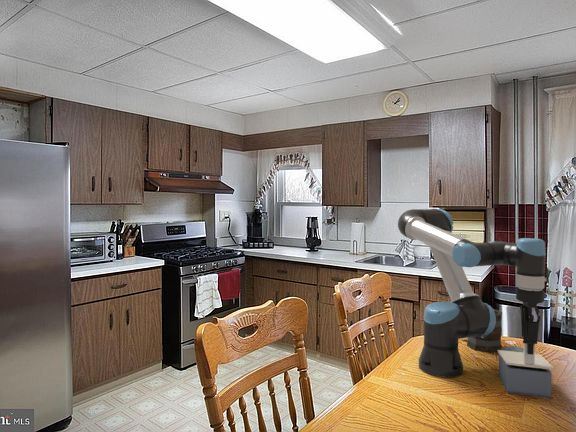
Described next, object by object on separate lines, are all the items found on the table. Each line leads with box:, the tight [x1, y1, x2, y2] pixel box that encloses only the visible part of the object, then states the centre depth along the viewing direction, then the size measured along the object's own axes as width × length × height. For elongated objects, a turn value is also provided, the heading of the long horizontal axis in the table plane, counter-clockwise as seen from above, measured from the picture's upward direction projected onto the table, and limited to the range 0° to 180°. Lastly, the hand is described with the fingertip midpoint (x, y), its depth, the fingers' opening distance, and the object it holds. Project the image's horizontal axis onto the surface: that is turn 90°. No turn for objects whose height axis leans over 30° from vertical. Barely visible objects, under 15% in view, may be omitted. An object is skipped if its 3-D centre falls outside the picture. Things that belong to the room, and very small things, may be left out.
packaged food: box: [501, 345, 524, 352], centre depth 149 cm, size 9×12×5 cm
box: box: [497, 353, 553, 400], centre depth 129 cm, size 12×14×8 cm
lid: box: [497, 350, 555, 371], centre depth 129 cm, size 13×14×1 cm
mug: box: [466, 308, 503, 354], centre depth 166 cm, size 20×14×15 cm
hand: (528, 362), depth 123 cm, fingers closed
